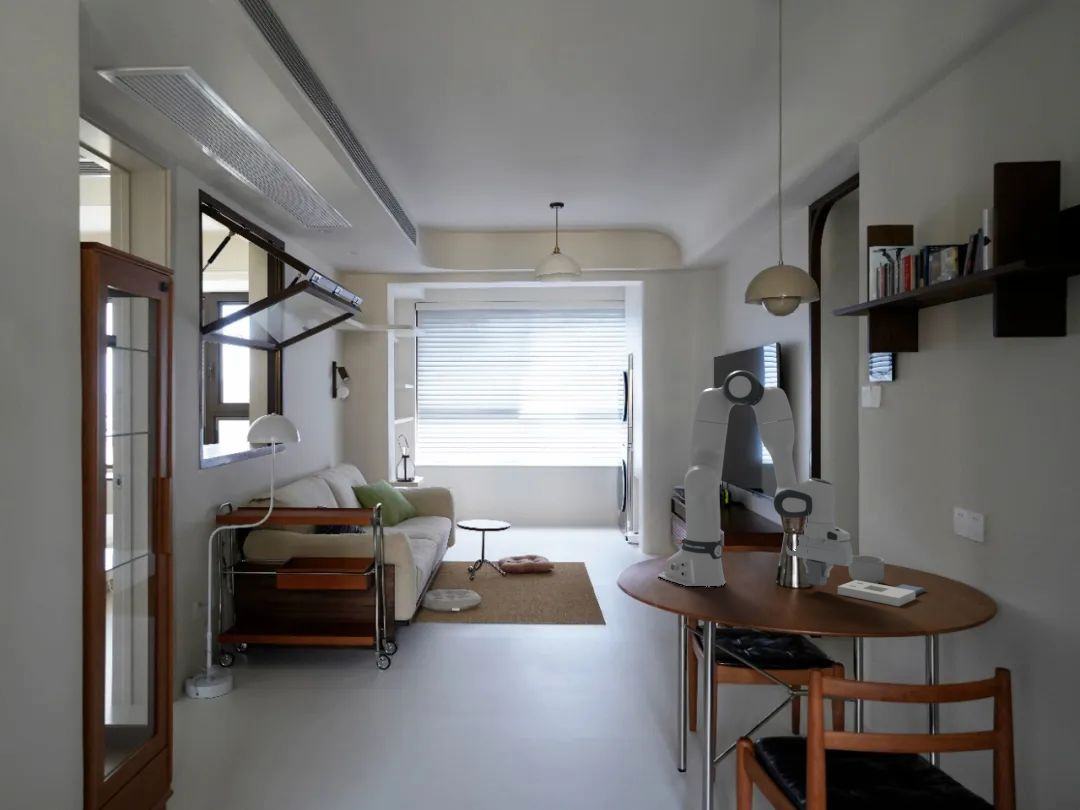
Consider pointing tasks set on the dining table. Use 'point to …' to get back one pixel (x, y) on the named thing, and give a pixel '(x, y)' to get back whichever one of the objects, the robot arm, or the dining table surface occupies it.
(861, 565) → the grey rounded block
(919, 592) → the phone
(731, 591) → the dining table surface
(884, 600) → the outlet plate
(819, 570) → the block
